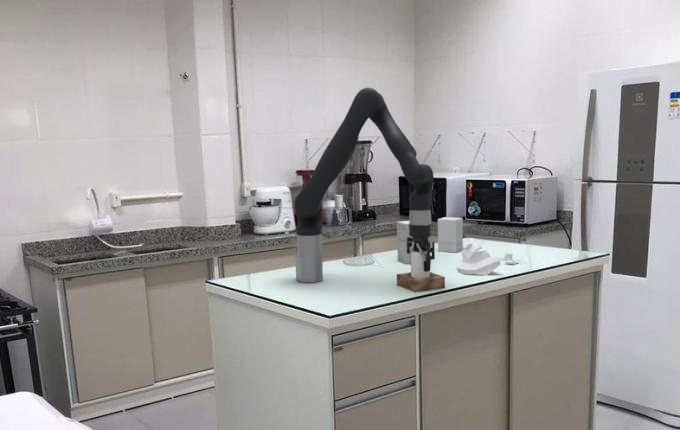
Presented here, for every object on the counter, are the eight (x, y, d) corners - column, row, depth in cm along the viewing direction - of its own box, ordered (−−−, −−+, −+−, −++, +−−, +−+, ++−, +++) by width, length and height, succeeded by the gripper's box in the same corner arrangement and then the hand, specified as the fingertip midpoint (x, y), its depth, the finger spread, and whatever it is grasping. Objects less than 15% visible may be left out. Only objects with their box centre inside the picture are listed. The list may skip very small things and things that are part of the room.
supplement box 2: (463, 249, 272) (463, 217, 271) (456, 253, 265) (456, 219, 263) (444, 248, 277) (444, 216, 275) (437, 251, 270) (437, 218, 268)
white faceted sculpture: (474, 282, 217) (463, 245, 216) (455, 276, 231) (445, 242, 230) (502, 270, 220) (492, 234, 219) (482, 266, 235) (472, 232, 233)
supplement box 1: (427, 262, 246) (427, 222, 244) (407, 264, 243) (407, 223, 240) (416, 258, 255) (415, 219, 253) (396, 260, 251) (396, 221, 249)
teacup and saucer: (513, 266, 236) (513, 256, 236) (494, 264, 241) (494, 254, 240) (521, 262, 243) (521, 253, 242) (503, 260, 248) (503, 251, 247)
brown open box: (414, 292, 198) (414, 281, 198) (396, 284, 209) (396, 274, 209) (444, 287, 203) (444, 276, 203) (425, 280, 214) (425, 270, 214)
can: (429, 286, 202) (429, 252, 201) (410, 286, 204) (410, 251, 202) (430, 282, 209) (430, 249, 207) (411, 282, 210) (411, 248, 208)
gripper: (400, 221, 208) (400, 266, 210) (422, 226, 195) (422, 274, 197) (418, 219, 211) (418, 264, 213) (441, 224, 198) (441, 271, 200)
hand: (420, 268), depth 205 cm, fingers open, 8 cm apart
